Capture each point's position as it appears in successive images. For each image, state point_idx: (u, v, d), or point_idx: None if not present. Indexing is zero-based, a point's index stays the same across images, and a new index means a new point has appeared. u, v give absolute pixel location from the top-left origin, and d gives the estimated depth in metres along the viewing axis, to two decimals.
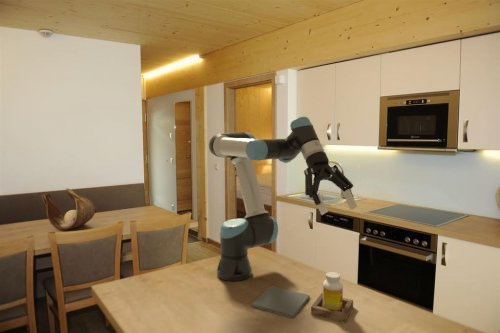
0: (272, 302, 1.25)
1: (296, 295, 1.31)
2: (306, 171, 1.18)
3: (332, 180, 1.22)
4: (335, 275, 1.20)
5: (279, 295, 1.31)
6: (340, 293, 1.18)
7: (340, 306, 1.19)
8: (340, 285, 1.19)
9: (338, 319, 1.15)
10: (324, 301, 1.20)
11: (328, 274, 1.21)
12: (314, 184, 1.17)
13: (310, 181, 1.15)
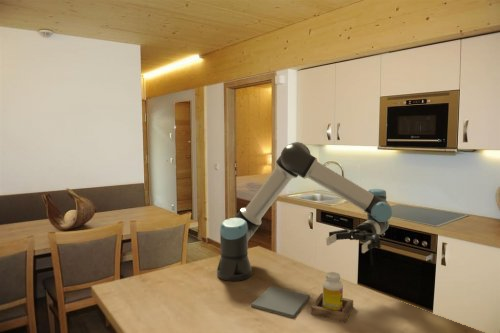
0: (272, 302, 1.25)
1: (296, 295, 1.31)
2: (379, 237, 1.34)
3: (348, 234, 1.37)
4: (335, 275, 1.20)
5: (279, 295, 1.31)
6: (340, 293, 1.18)
7: (340, 306, 1.19)
8: (340, 285, 1.19)
9: (338, 319, 1.15)
10: (324, 301, 1.20)
11: (328, 274, 1.21)
12: None
13: None
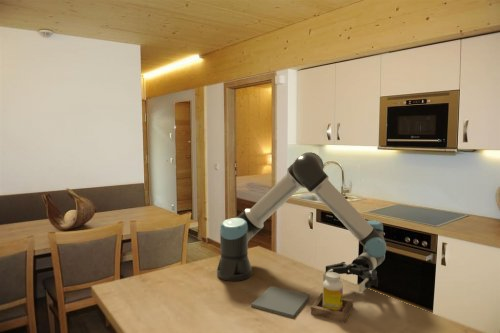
0: (272, 302, 1.25)
1: (296, 295, 1.31)
2: None
3: (345, 269, 1.36)
4: (335, 275, 1.20)
5: (279, 295, 1.31)
6: (340, 293, 1.18)
7: (340, 306, 1.19)
8: (340, 285, 1.19)
9: (338, 319, 1.15)
10: (324, 301, 1.20)
11: (328, 274, 1.21)
12: None
13: None
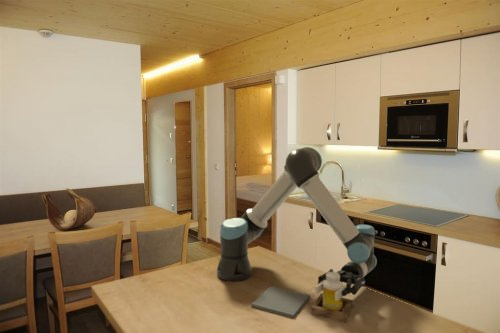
0: (272, 302, 1.25)
1: (296, 295, 1.31)
2: (363, 282, 1.25)
3: None
4: (335, 275, 1.20)
5: (279, 295, 1.31)
6: None
7: (340, 306, 1.19)
8: (340, 285, 1.19)
9: (338, 319, 1.15)
10: (324, 301, 1.20)
11: (328, 274, 1.21)
12: (350, 285, 1.23)
13: None
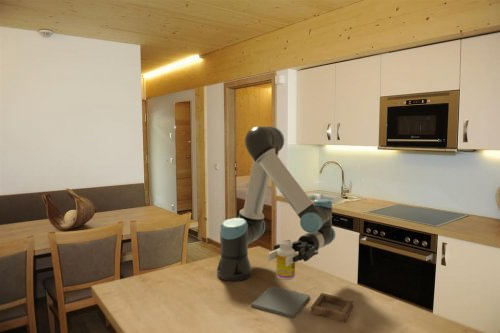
0: (272, 302, 1.25)
1: (296, 295, 1.31)
2: (317, 251, 1.30)
3: None
4: (288, 242, 1.24)
5: (279, 295, 1.31)
6: None
7: (292, 272, 1.23)
8: (292, 252, 1.23)
9: (338, 319, 1.15)
10: (277, 267, 1.25)
11: (281, 242, 1.25)
12: (303, 253, 1.27)
13: None
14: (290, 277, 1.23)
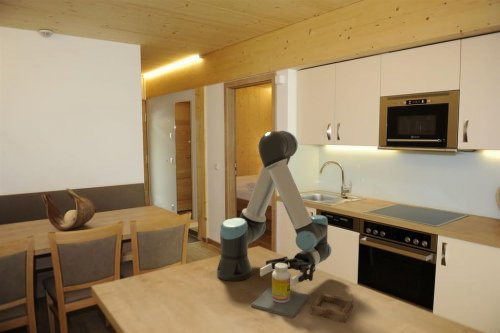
0: (272, 302, 1.25)
1: (296, 295, 1.31)
2: (314, 268, 1.32)
3: (285, 263, 1.35)
4: (283, 265, 1.26)
5: None
6: (287, 282, 1.24)
7: (287, 295, 1.25)
8: (287, 275, 1.25)
9: (338, 319, 1.15)
10: (272, 290, 1.26)
11: (277, 265, 1.27)
12: None
13: None
14: (285, 300, 1.25)
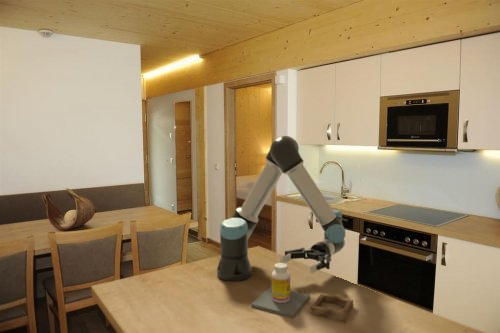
0: (272, 302, 1.25)
1: (296, 295, 1.31)
2: (330, 257, 1.42)
3: (303, 254, 1.45)
4: (282, 265, 1.26)
5: None
6: (287, 282, 1.24)
7: (287, 295, 1.25)
8: (287, 275, 1.25)
9: (338, 319, 1.15)
10: (272, 290, 1.26)
11: (276, 265, 1.27)
12: None
13: None
14: (285, 300, 1.25)
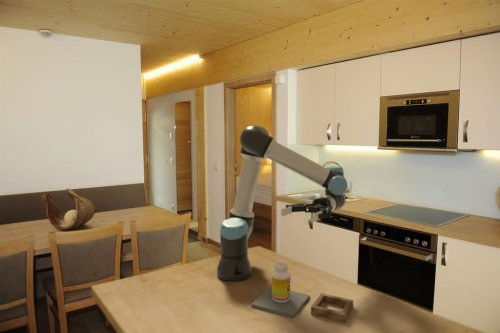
0: (272, 302, 1.25)
1: (296, 295, 1.31)
2: (332, 210, 1.41)
3: (304, 207, 1.44)
4: (283, 265, 1.26)
5: None
6: (287, 282, 1.24)
7: (287, 295, 1.25)
8: (287, 275, 1.25)
9: (338, 319, 1.15)
10: (272, 290, 1.26)
11: (276, 264, 1.27)
12: None
13: None
14: (285, 300, 1.25)
